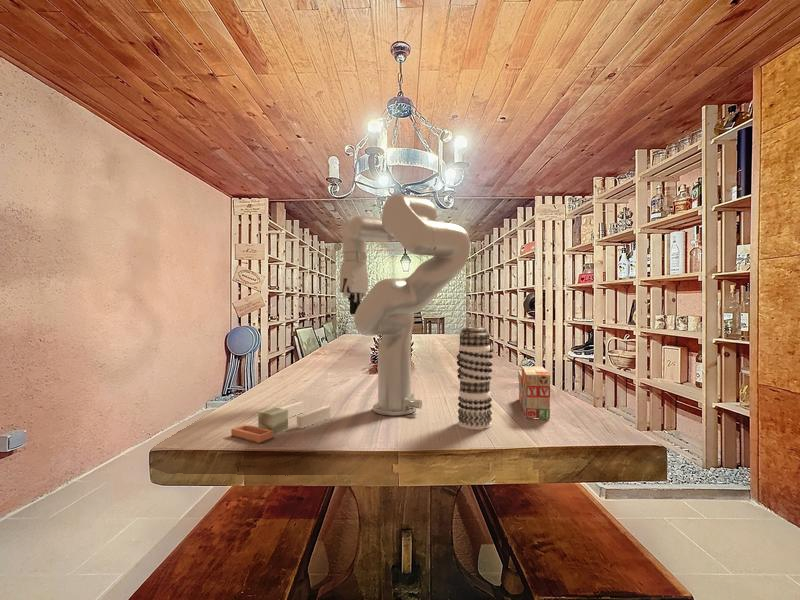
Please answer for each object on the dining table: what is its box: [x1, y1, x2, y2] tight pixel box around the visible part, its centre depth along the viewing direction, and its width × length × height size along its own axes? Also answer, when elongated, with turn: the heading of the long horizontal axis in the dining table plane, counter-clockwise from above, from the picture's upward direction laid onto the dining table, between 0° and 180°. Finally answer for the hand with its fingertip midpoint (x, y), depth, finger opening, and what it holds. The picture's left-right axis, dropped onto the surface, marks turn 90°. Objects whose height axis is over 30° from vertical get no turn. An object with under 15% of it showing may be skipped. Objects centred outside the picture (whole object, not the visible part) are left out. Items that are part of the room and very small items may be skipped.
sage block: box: [257, 406, 289, 435], centre depth 105 cm, size 5×5×5 cm
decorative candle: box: [456, 326, 494, 430], centre depth 108 cm, size 9×9×25 cm
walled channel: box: [280, 401, 331, 430], centre depth 113 cm, size 11×11×3 cm
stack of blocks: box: [517, 365, 551, 420], centre depth 122 cm, size 21×6×12 cm, turn 170°
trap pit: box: [230, 424, 275, 445], centre depth 99 cm, size 10×4×2 cm, turn 59°
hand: (355, 314), depth 139 cm, fingers closed
